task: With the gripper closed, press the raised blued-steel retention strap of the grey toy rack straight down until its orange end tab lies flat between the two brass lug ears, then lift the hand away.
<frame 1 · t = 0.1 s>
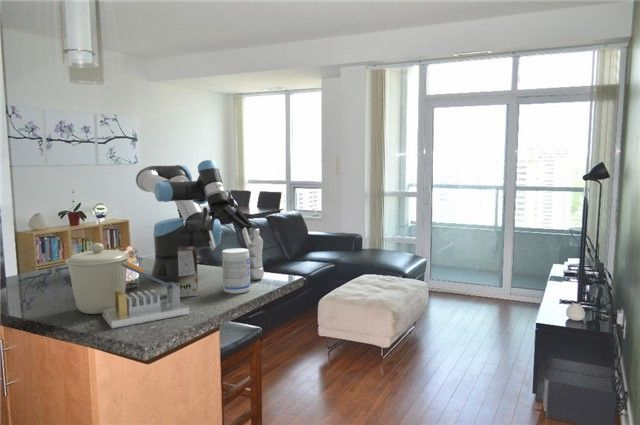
hand: (231, 246, 176), 15 cm above the countertop, fingers open, 13 cm apart
strap: (150, 275, 147), point 12 cm above the countertop, hinge at 32.0°
canister: (101, 310, 154), on the countertop
grey toy rack: (145, 314, 148), on the countertop
coffee box: (189, 293, 171), on the countertop
supplement tub: (236, 291, 174), on the countertop
plastic bottle: (255, 279, 190), on the countertop
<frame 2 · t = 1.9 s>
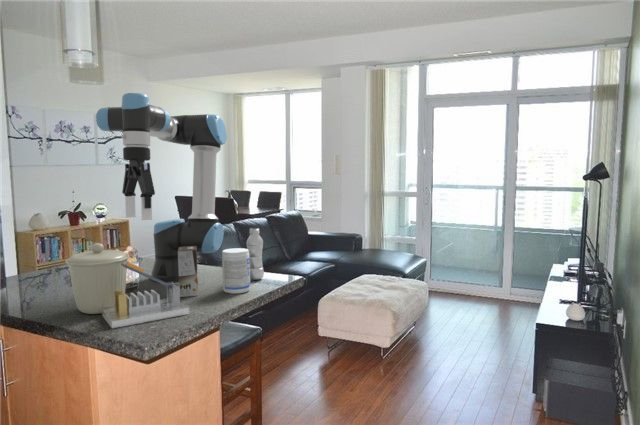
hand: (138, 218, 146), 29 cm above the countertop, fingers open, 13 cm apart
nothing on the countertop moved.
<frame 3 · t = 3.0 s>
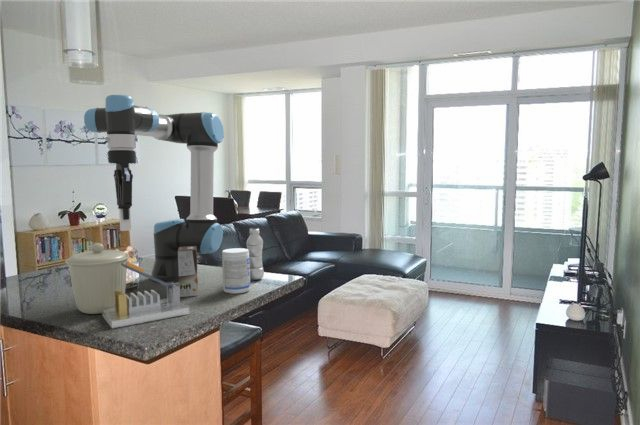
hand: (125, 230, 144), 26 cm above the countertop, fingers closed
nothing on the countertop moved.
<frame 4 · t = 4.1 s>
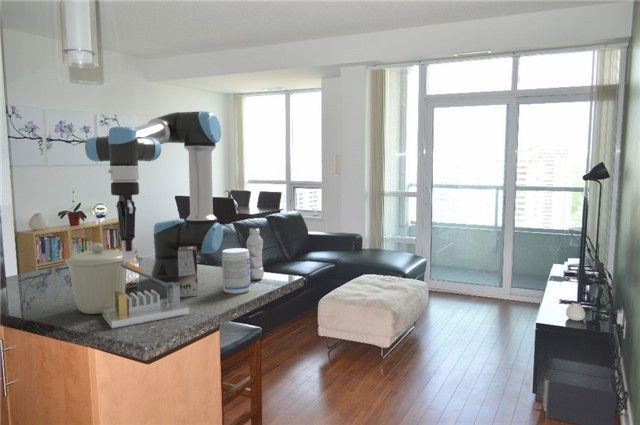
hand: (128, 261, 143), 17 cm above the countertop, fingers closed
strap: (149, 276, 147), point 12 cm above the countertop, hinge at 31.1°, touching gripper
everything else where it was.
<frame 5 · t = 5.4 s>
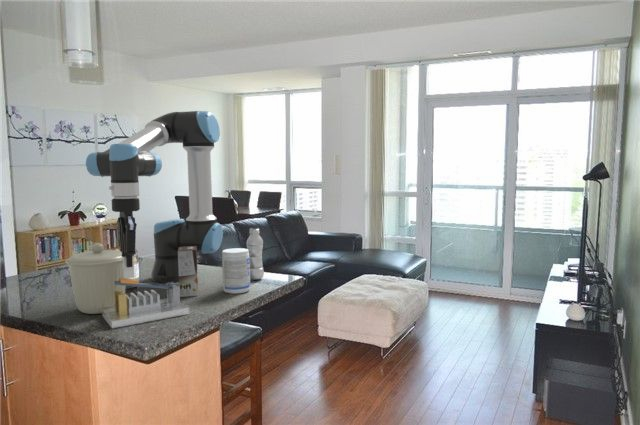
hand: (128, 277, 144), 12 cm above the countertop, fingers closed
strap: (146, 284, 147), point 9 cm above the countertop, hinge at 13.2°, touching gripper
everything else where it was.
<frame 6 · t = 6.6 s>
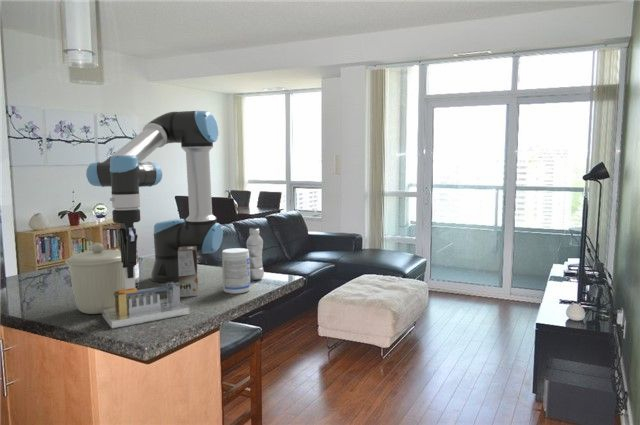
hand: (130, 288, 144), 9 cm above the countertop, fingers closed
strap: (146, 290, 147), point 8 cm above the countertop, hinge at 0.7°, touching gripper
everything else where it was.
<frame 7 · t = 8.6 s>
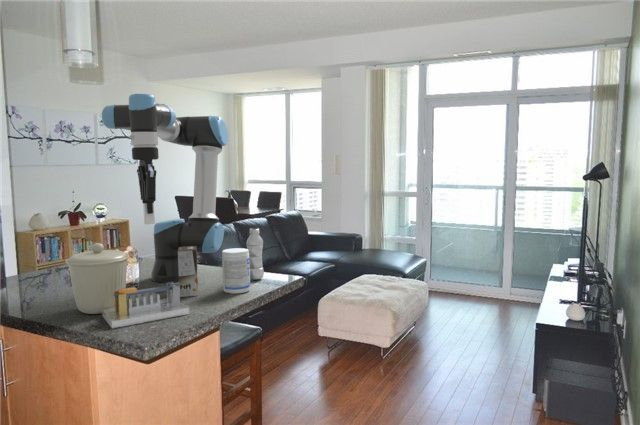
hand: (149, 223, 150), 27 cm above the countertop, fingers closed
strap: (146, 290, 147), point 8 cm above the countertop, hinge at 0.7°
everything else where it was.
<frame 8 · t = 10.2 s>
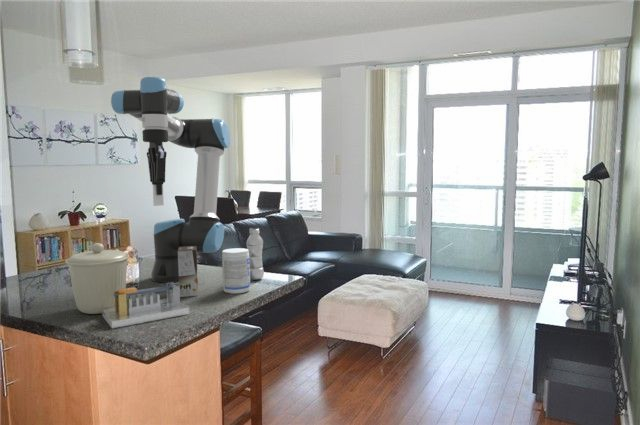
hand: (158, 205, 153), 32 cm above the countertop, fingers closed
nothing on the countertop moved.
at the end: strap at +1° (first picture: +32°) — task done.
